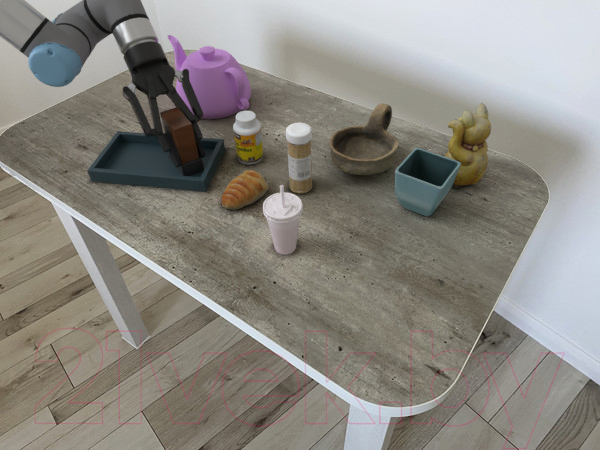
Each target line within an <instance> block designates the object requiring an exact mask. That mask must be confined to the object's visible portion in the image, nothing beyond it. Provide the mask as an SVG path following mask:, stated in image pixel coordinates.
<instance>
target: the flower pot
mask: <svg viewBox="0 0 600 450" xmlns="http://www.w3.org/2000/svg"><path fill="white" fill-rule="evenodd" d="M460 166H461V162H458V161H456V160H453V159H450V158H447V157H445V155H444V156H443V155H442V154H441V155H440V154H437V153H435V152H432V151H429V150H426V149H423V148H420V147H415V148H413V150H412V151H411V152H410V153H409V154H408V155H407V156H406V158H404V160H403V161H402V162H401V163H400V164H399V165H398V166H397V167H396V168H395V170H394V191H395V196H396V199H397V201H398V202H399V204H400V206H402V207H403V208H404V209H406V210H409V211H411V212H413V213H417V214H419V215H421V216H424V217H427V218H428V217H429V216H431V215H432V214H433V213H435V211H436V210H437V208H438V207H439V206H440V204H441V203H442V201H443V200H444V199H445V197H446V196H447V195H448V194H449V192H450V190H451V189H452V188H453V183H454V180H455V178H456V176H457V173H458V171H459V168H460Z"/></svg>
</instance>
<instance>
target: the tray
mask: <svg viewBox="0 0 600 450" xmlns="http://www.w3.org/2000/svg"><path fill="white" fill-rule="evenodd" d="M200 142H201V144H202V147H203V149H204V151H205V153H206V155H205V156H204V157H203V158H202V162H203V166H204V171H202V172H199V173H196V174H194V175H191V176H182V175H181V173H180V172H179V171H178V169H177V168H176V167H175V165H174V164H173V162H172V161H171V160H170V158H169V155H168V152H164V151H163V150H162V147H161V145H160V143H159V141H158V139H157V138H156V137H146V136H145V134H144V132H136V131H135V132H133V131H121V130H117V131H116V132H115V134H114V135H113V136H112V137H111V139H110V140H109V141H108V143H107V144H106V146H105V147H104V148H103V149H102V150H101V152H100V153H99V154H98V155H97V157H96V158H95V160H94V161H93V162H92V163H91V164H90V166H89V167H88V168H87V174H88V176H89V178H90V180H91V181H90V182H94V183H95V182H96V183H106V184H114V185H127V186H137V187H148V188H158V189H168V190H169V189H170V190H178V191H179V190H181V191H190V192H191V191H192V192H200V193H207V191H208V188H209V186H210V185H211V183H212V180H213V178H214V176H215V174H216V172H217V170H218V167H219V165H220V162H221V161H222V159H223V156H224V154H225V152H226V144H225V139H223V138H211V137H203V138H202V140H200Z"/></svg>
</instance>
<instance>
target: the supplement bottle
mask: <svg viewBox="0 0 600 450" xmlns="http://www.w3.org/2000/svg"><path fill="white" fill-rule="evenodd" d="M232 131H233V139H234V145H235V152H236V158H237V160H238V162H240V163H241V164H243V165H255V164H258V163H260V162H261V161H262V160H263V158H264V146H263V135H262V124H261V123H260V121H259V120H258V119H257V115H256V113H255V112H254V111H252V110H240V111H238V112H237V113H236V115H235V122H233V126H232Z"/></svg>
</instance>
